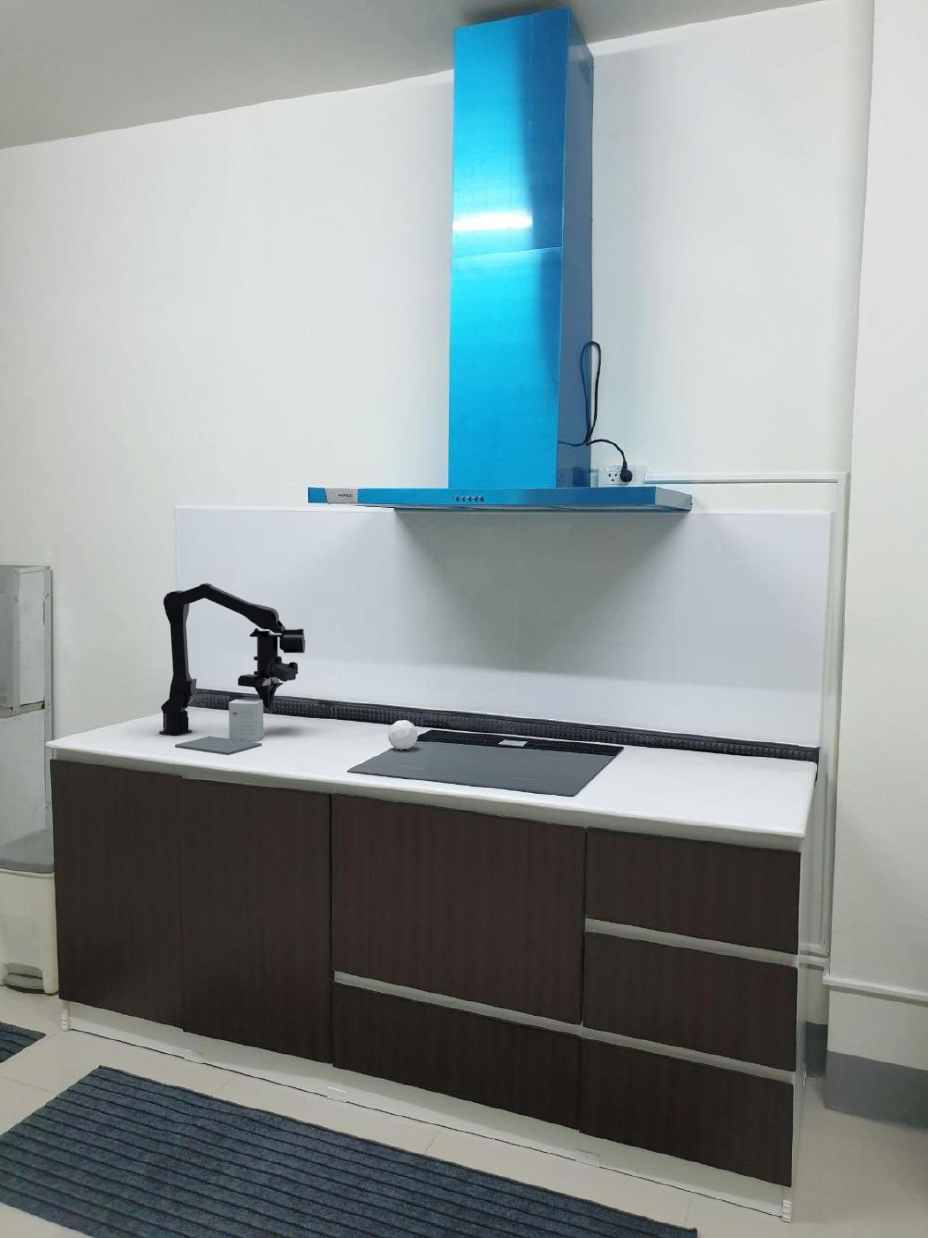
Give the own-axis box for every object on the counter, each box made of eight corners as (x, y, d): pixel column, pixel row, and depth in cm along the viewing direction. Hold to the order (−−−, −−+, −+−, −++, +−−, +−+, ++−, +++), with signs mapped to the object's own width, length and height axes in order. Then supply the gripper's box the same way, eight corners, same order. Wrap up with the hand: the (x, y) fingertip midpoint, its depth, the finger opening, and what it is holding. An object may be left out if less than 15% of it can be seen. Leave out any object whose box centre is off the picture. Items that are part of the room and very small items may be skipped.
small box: (264, 737, 264) (263, 699, 263) (257, 741, 258) (257, 703, 257) (235, 736, 264) (235, 698, 263) (228, 740, 259) (228, 702, 258)
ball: (410, 758, 252) (428, 735, 251) (391, 753, 246) (410, 729, 245) (395, 740, 257) (413, 717, 256) (376, 734, 250) (395, 711, 249)
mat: (174, 747, 250) (174, 744, 250) (209, 738, 261) (209, 736, 261) (228, 754, 242) (228, 752, 241) (261, 745, 253) (261, 743, 253)
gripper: (268, 658, 255) (268, 716, 257) (311, 651, 272) (311, 706, 273) (236, 655, 260) (236, 712, 262) (279, 649, 277) (279, 702, 278)
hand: (267, 708), depth 269 cm, fingers closed
